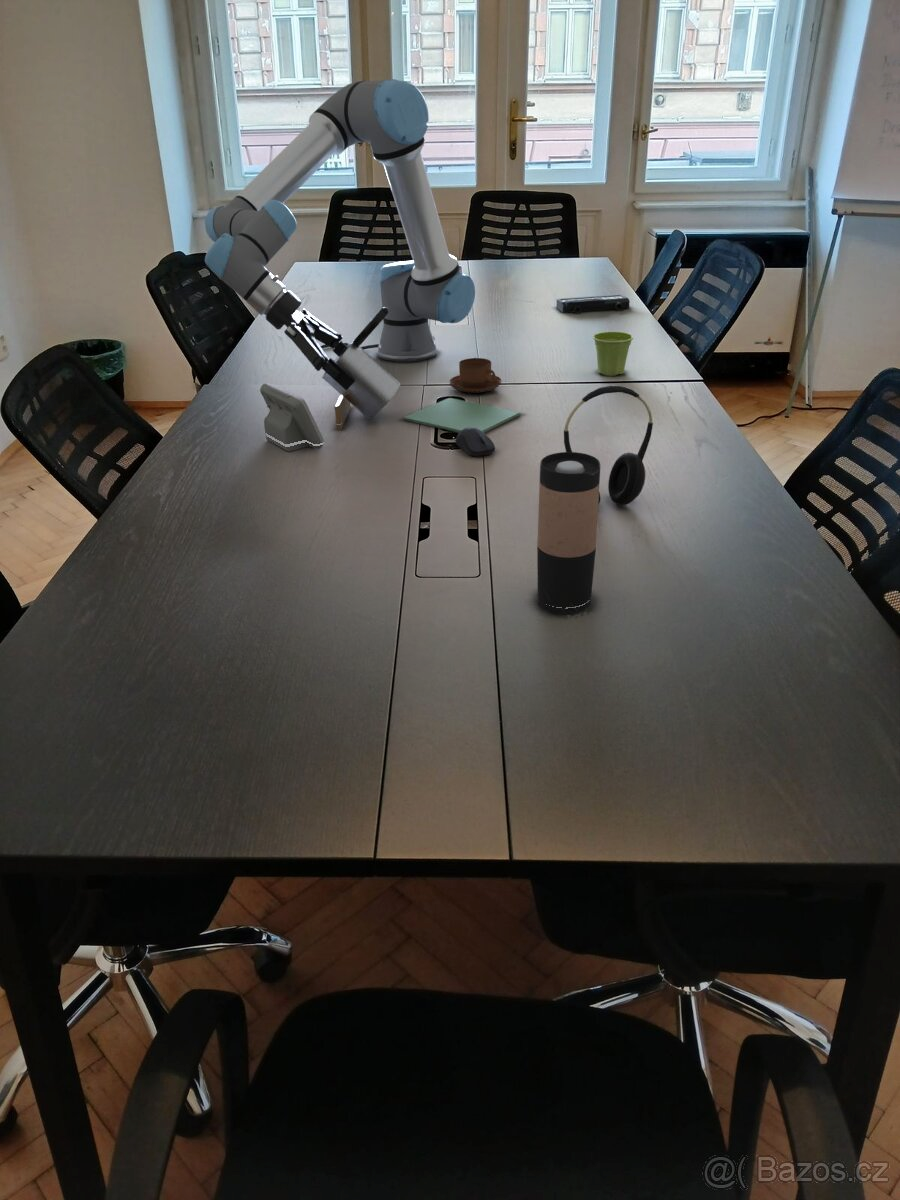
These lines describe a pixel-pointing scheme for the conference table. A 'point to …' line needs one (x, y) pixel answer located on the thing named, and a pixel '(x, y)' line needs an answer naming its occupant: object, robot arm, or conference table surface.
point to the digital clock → (289, 419)
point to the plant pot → (612, 351)
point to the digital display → (592, 303)
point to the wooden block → (341, 411)
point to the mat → (461, 415)
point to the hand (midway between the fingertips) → (355, 376)
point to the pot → (365, 374)
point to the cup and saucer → (475, 376)
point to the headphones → (629, 466)
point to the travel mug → (567, 530)
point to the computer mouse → (474, 442)
